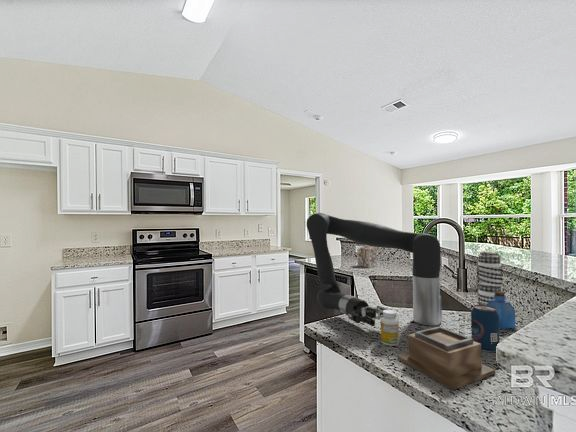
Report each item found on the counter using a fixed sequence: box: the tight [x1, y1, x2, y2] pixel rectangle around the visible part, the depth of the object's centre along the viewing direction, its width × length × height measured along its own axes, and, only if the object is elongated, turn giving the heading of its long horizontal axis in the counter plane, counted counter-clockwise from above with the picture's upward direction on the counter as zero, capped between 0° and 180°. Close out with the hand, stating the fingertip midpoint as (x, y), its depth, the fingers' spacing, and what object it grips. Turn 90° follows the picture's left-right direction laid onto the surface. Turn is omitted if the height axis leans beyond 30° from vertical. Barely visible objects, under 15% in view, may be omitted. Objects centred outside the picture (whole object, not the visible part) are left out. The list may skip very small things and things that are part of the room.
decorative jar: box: [357, 244, 378, 268], centre depth 239 cm, size 12×12×18 cm
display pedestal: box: [397, 325, 496, 391], centre depth 74 cm, size 16×16×8 cm
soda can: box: [470, 304, 501, 353], centre depth 85 cm, size 7×7×12 cm
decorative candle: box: [476, 250, 504, 306], centre depth 118 cm, size 9×9×25 cm
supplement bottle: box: [380, 309, 400, 347], centre depth 89 cm, size 5×5×10 cm
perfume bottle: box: [487, 290, 516, 330], centre depth 103 cm, size 6×6×12 cm
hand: (384, 320), depth 91 cm, fingers open, 8 cm apart
